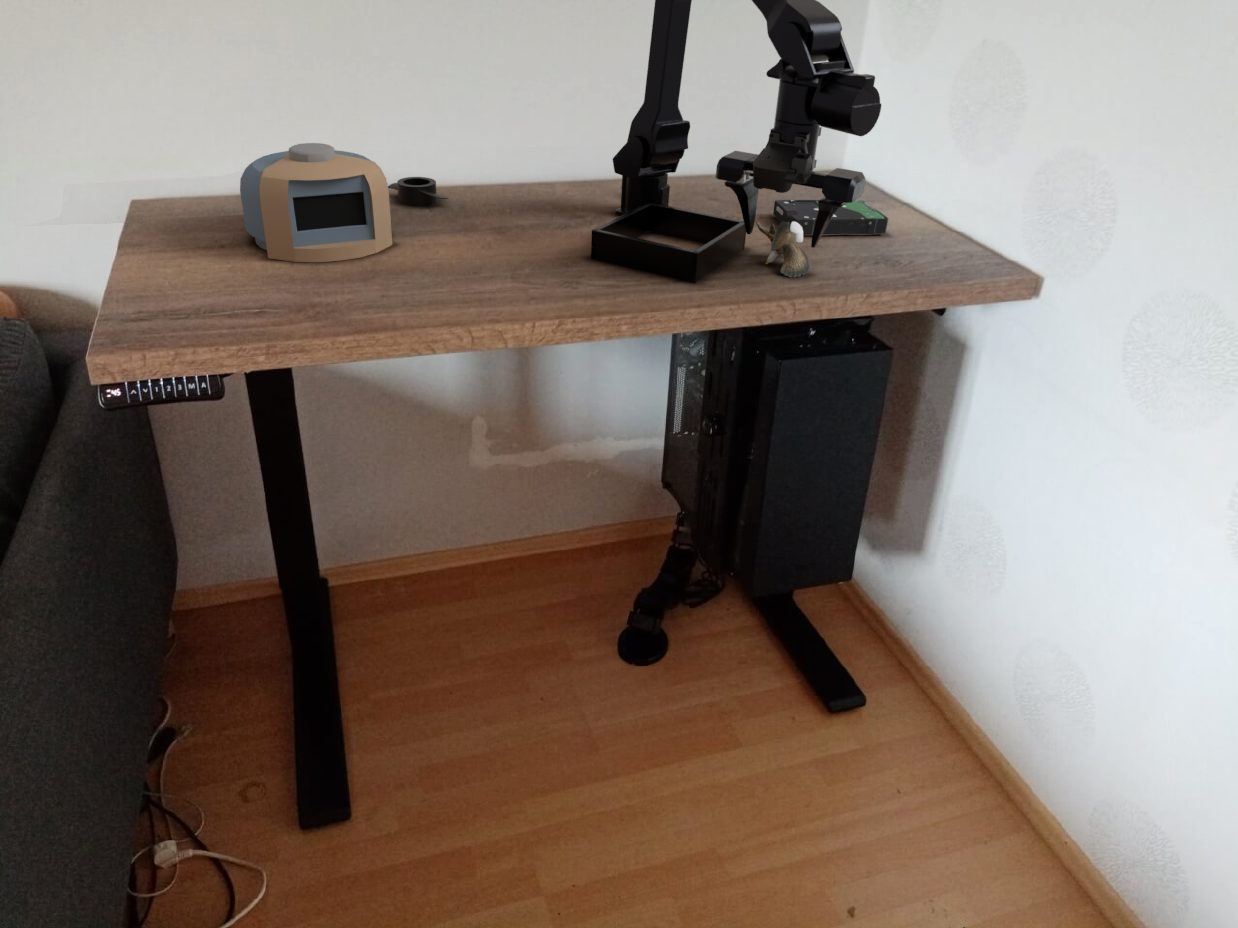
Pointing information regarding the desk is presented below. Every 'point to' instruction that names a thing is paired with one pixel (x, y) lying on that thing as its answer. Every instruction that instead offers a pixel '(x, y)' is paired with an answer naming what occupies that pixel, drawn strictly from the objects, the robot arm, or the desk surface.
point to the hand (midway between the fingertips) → (781, 240)
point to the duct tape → (416, 191)
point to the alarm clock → (316, 204)
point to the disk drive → (844, 221)
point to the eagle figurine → (787, 247)
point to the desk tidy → (627, 250)
